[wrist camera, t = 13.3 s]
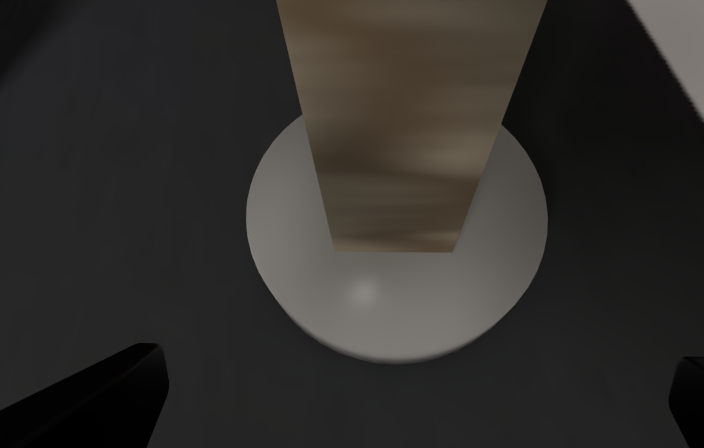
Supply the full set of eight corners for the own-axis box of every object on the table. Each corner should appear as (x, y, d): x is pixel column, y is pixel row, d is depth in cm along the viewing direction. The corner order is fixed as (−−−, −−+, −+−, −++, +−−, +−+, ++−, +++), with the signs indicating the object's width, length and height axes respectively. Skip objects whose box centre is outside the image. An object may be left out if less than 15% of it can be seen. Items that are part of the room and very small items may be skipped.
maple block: (445, 153, 19) (527, -212, 9) (452, 252, 18) (569, -59, 7) (339, 154, 20) (291, -198, 9) (334, 251, 18) (264, -49, 7)
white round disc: (584, 225, 20) (610, 198, 18) (397, 433, 17) (399, 431, 15) (388, 83, 25) (389, 46, 22) (208, 229, 21) (187, 203, 19)
